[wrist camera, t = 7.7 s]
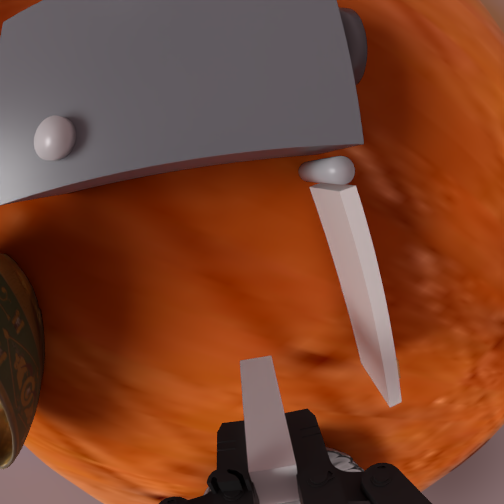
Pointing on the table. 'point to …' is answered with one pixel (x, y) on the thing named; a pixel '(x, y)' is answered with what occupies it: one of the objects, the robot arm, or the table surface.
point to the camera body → (171, 88)
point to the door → (356, 268)
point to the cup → (18, 358)
